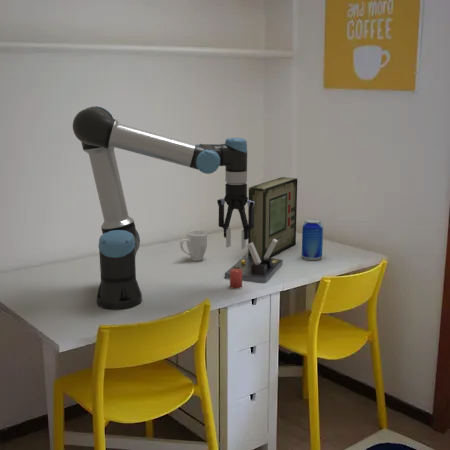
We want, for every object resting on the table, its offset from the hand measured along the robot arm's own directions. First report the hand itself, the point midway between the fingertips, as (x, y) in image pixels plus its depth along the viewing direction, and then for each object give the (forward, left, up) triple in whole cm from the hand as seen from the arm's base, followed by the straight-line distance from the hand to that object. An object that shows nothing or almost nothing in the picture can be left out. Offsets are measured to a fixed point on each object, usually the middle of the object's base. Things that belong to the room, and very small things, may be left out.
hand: (236, 247), depth 224 cm
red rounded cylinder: (0, 0, -15) cm, 15 cm away
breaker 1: (+12, -5, -10) cm, 16 cm away
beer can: (+44, -18, -15) cm, 50 cm away
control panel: (+48, 0, -15) cm, 50 cm away
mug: (+24, +27, -15) cm, 39 cm away
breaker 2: (+20, -5, -10) cm, 23 cm away
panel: (+19, -1, -15) cm, 24 cm away
